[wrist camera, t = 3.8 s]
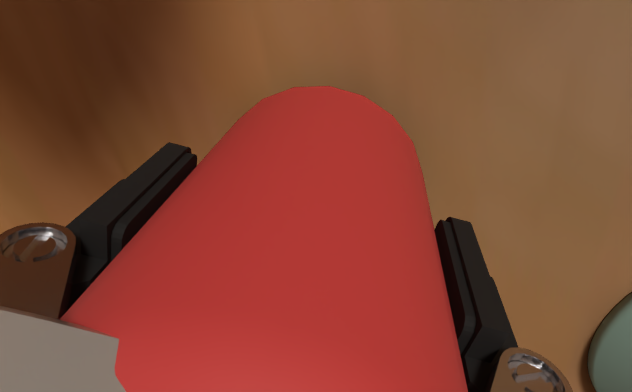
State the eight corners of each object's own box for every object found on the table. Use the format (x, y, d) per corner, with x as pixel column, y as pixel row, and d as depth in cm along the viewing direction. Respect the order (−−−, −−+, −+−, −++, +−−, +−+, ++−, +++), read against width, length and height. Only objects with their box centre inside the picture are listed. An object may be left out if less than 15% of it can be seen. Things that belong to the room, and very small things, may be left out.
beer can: (328, 286, 17) (243, 830, 6) (190, 178, 15) (-230, 659, 5) (464, 177, 14) (730, 844, 3) (311, 31, 12) (-74, 422, 2)
